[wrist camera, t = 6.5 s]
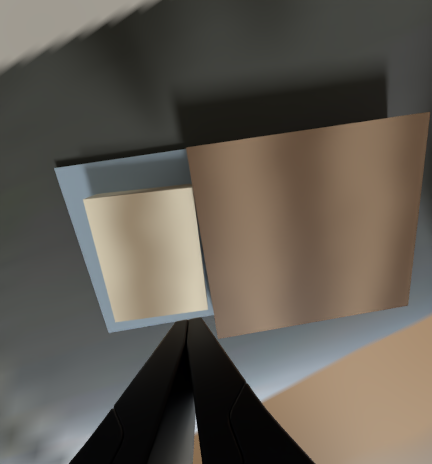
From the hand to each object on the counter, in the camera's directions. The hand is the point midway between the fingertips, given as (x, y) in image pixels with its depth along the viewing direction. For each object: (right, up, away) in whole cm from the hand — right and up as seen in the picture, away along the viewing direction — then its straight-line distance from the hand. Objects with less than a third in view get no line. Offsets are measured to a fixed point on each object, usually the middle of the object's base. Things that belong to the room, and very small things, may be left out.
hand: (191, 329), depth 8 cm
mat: (-4, +2, +9) cm, 10 cm away
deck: (+6, +4, +9) cm, 12 cm away
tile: (-3, +2, +8) cm, 9 cm away
